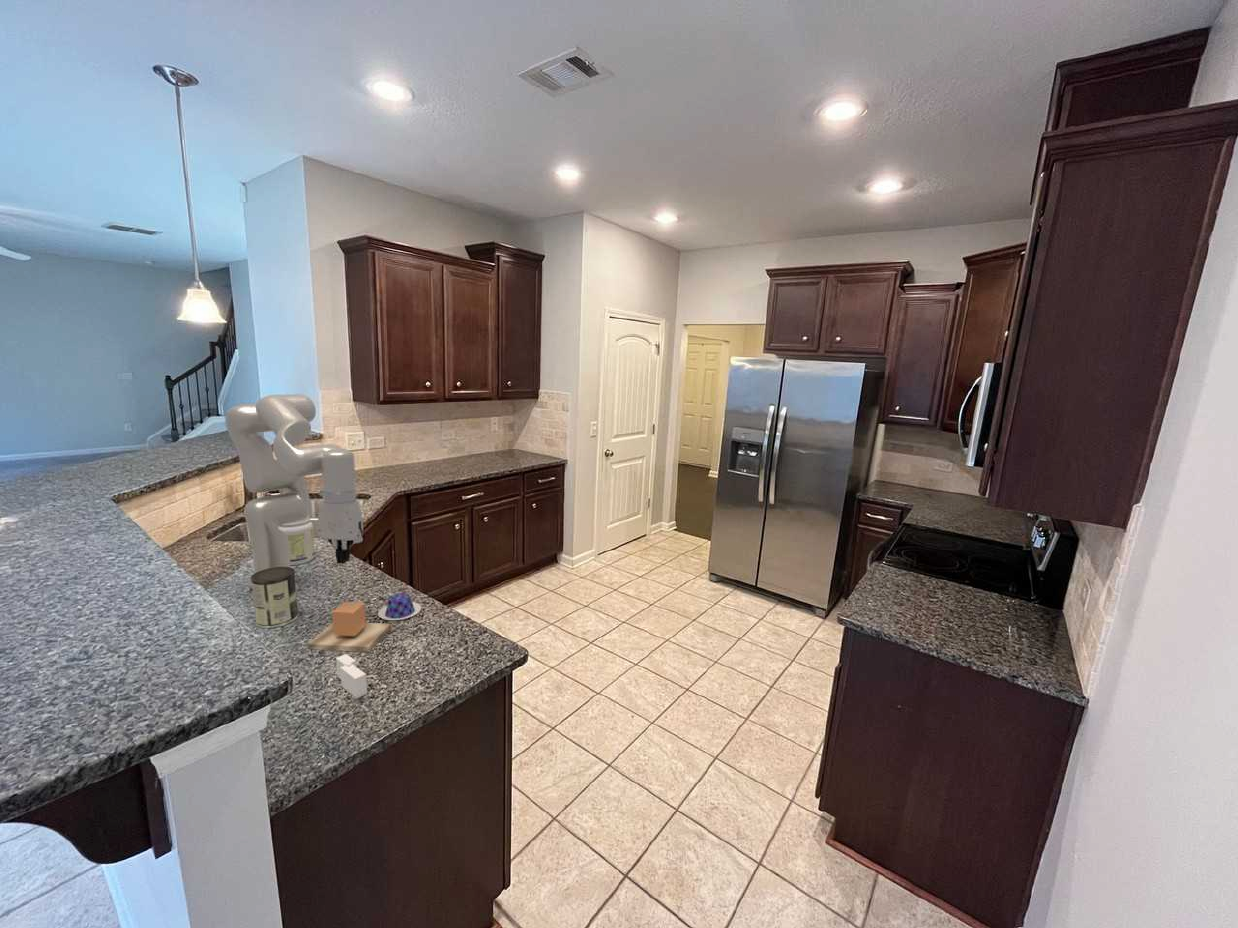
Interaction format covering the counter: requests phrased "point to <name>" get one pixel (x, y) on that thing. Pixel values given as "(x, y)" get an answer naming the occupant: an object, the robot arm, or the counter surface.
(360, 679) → the white stepped block
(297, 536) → the supplement tub
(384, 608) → the pudding
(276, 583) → the coffee can
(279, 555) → the robot arm
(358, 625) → the orange block
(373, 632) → the post stand
